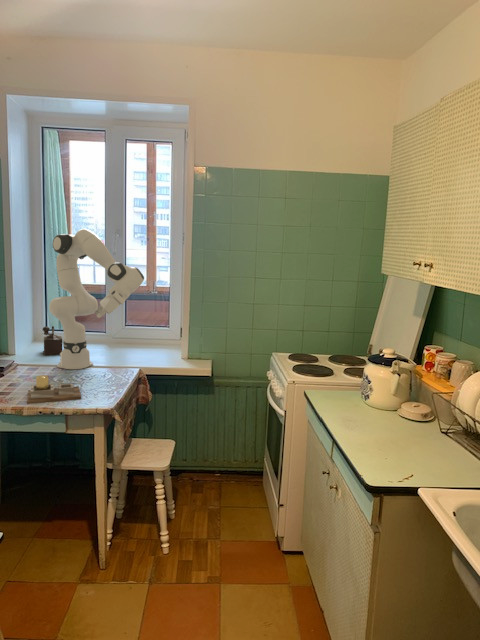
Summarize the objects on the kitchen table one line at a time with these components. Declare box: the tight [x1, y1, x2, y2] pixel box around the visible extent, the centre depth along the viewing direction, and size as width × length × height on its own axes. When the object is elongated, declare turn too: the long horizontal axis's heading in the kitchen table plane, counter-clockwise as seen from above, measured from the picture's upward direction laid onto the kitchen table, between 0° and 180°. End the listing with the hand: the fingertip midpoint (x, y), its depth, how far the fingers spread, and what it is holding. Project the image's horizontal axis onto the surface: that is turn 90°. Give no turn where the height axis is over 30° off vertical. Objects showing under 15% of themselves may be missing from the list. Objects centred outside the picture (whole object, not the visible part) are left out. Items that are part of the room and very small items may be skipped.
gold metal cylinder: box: [35, 374, 49, 391], centre depth 215 cm, size 5×5×8 cm
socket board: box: [26, 383, 82, 405], centre depth 217 cm, size 15×22×4 cm
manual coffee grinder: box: [42, 325, 63, 356], centre depth 289 cm, size 16×11×18 cm
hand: (96, 315), depth 233 cm, fingers open, 8 cm apart
